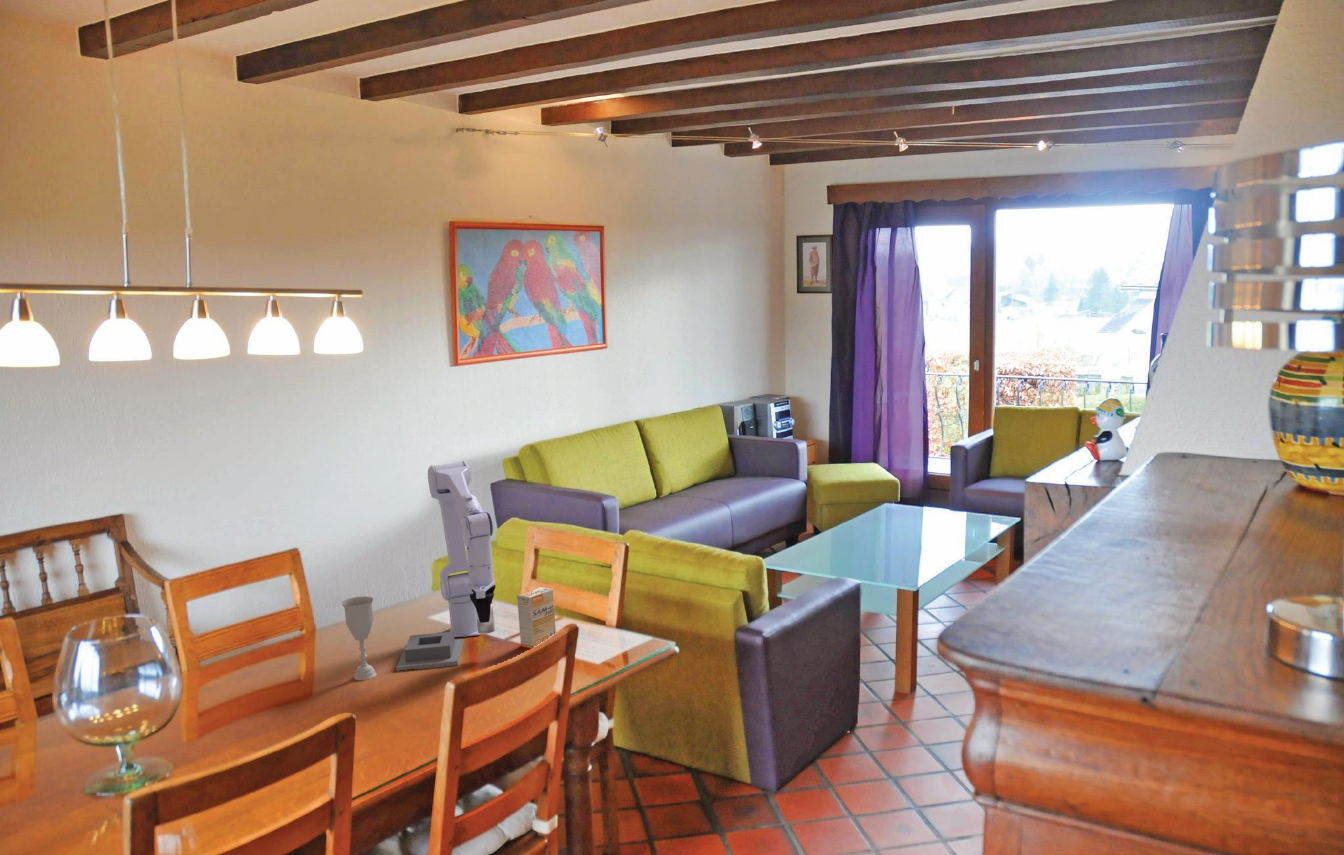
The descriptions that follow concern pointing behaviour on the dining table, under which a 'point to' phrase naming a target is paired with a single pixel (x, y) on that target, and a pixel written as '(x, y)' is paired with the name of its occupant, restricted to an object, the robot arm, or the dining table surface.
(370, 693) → the dining table surface
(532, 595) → the supplement box
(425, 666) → the socket mount
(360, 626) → the chalice
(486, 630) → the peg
